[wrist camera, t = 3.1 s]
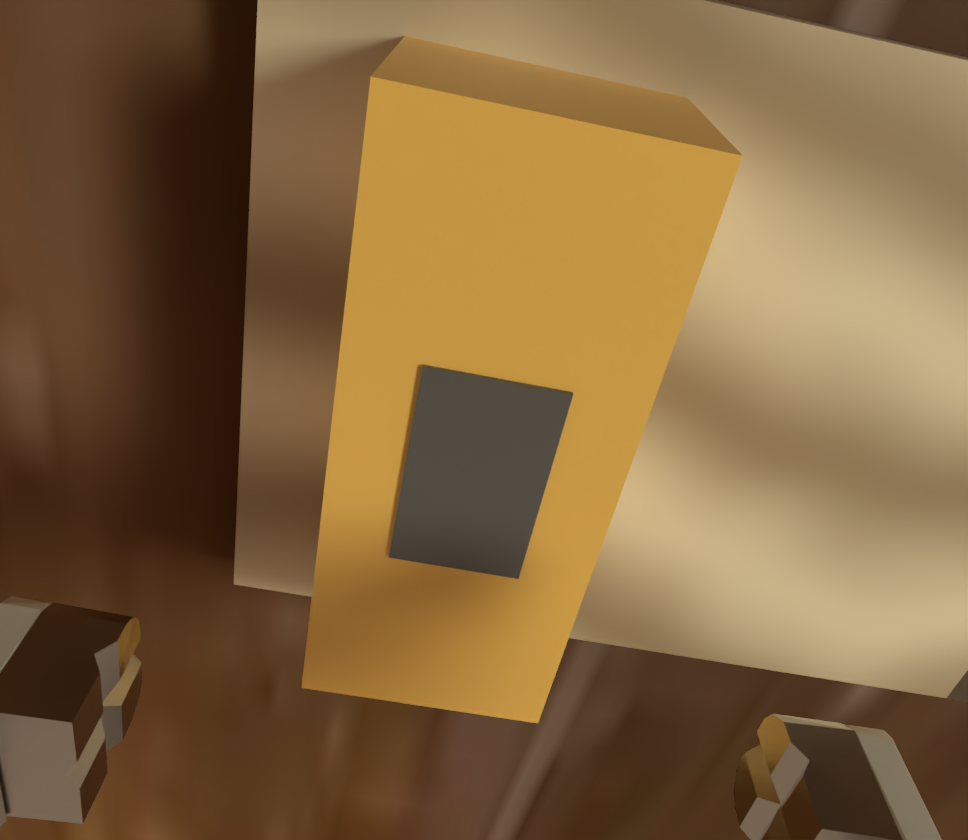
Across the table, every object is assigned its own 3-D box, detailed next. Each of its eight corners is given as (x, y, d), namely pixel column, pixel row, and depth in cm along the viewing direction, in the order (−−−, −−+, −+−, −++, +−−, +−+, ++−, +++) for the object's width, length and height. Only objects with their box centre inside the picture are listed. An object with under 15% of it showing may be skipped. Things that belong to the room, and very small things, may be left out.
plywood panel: (279, -100, 14) (261, -101, 13) (1605, 203, 16) (1681, 223, 15) (246, 552, 22) (233, 584, 21) (1134, 697, 24) (1163, 733, 23)
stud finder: (404, 35, 14) (369, 77, 10) (686, 97, 14) (743, 157, 11) (336, 556, 20) (301, 690, 17) (533, 588, 20) (538, 726, 17)
